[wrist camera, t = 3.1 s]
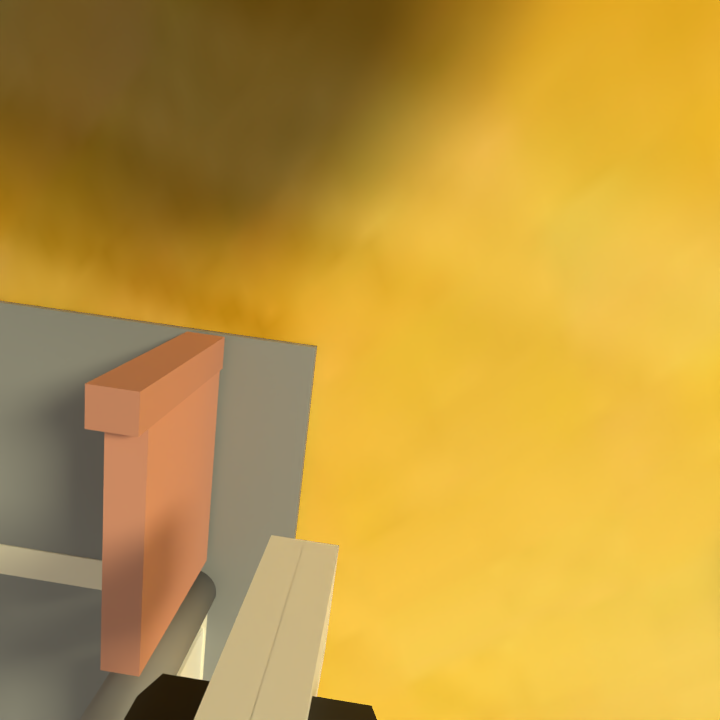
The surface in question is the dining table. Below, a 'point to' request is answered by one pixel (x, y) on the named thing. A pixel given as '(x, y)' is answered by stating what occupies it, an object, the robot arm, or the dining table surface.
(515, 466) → the dining table surface
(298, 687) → the robot arm
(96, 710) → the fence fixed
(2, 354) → the board
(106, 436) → the terracotta wall panel
